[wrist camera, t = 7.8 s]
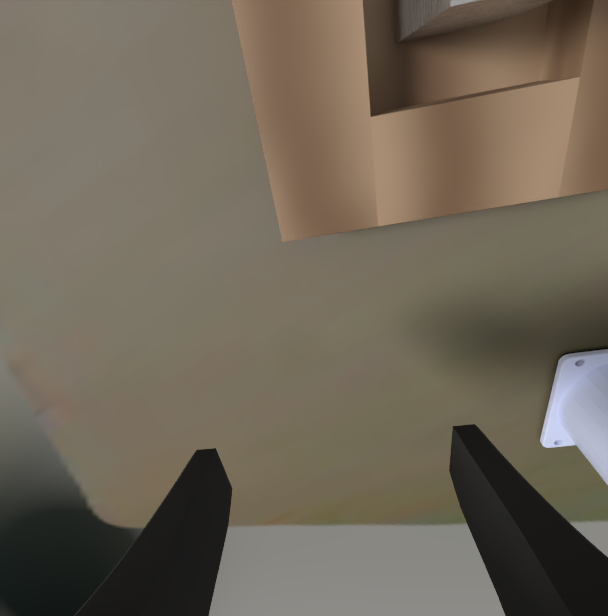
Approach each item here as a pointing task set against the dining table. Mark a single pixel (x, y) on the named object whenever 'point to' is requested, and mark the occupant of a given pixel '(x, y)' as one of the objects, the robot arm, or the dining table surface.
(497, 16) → the grey rectangular block
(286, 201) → the well block
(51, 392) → the dining table surface
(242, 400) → the dining table surface
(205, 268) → the dining table surface
